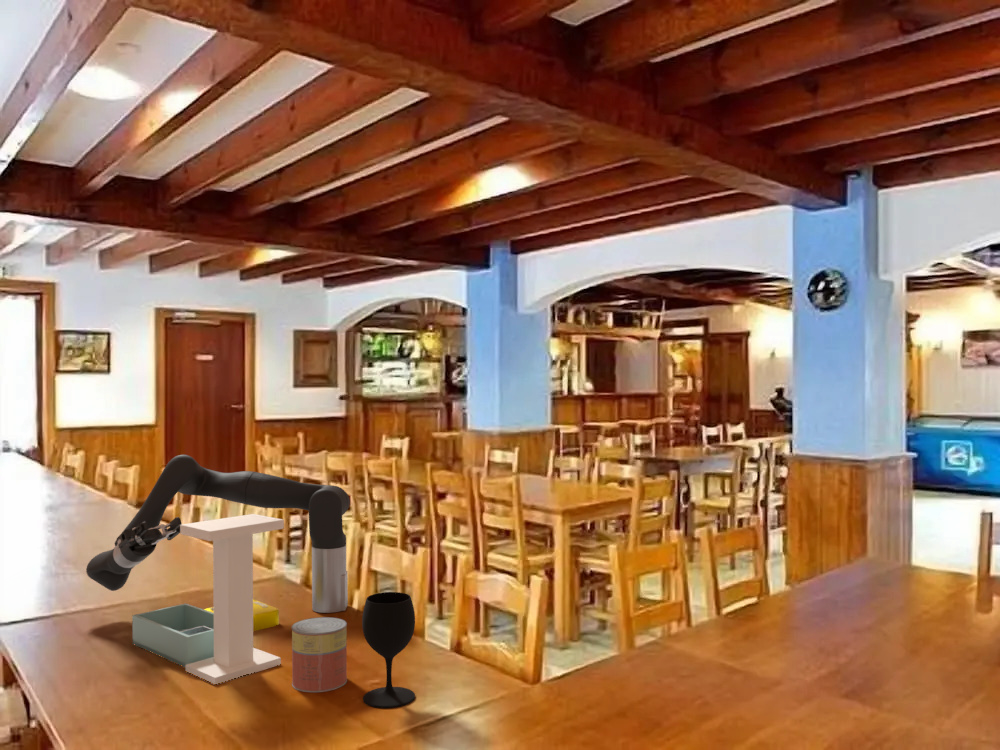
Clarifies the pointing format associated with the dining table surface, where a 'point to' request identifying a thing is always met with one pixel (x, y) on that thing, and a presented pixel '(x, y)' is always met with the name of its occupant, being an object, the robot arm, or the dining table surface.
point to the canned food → (319, 654)
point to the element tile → (261, 615)
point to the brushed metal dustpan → (194, 630)
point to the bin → (175, 633)
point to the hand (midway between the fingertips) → (162, 523)
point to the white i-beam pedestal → (232, 596)
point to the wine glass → (388, 641)
